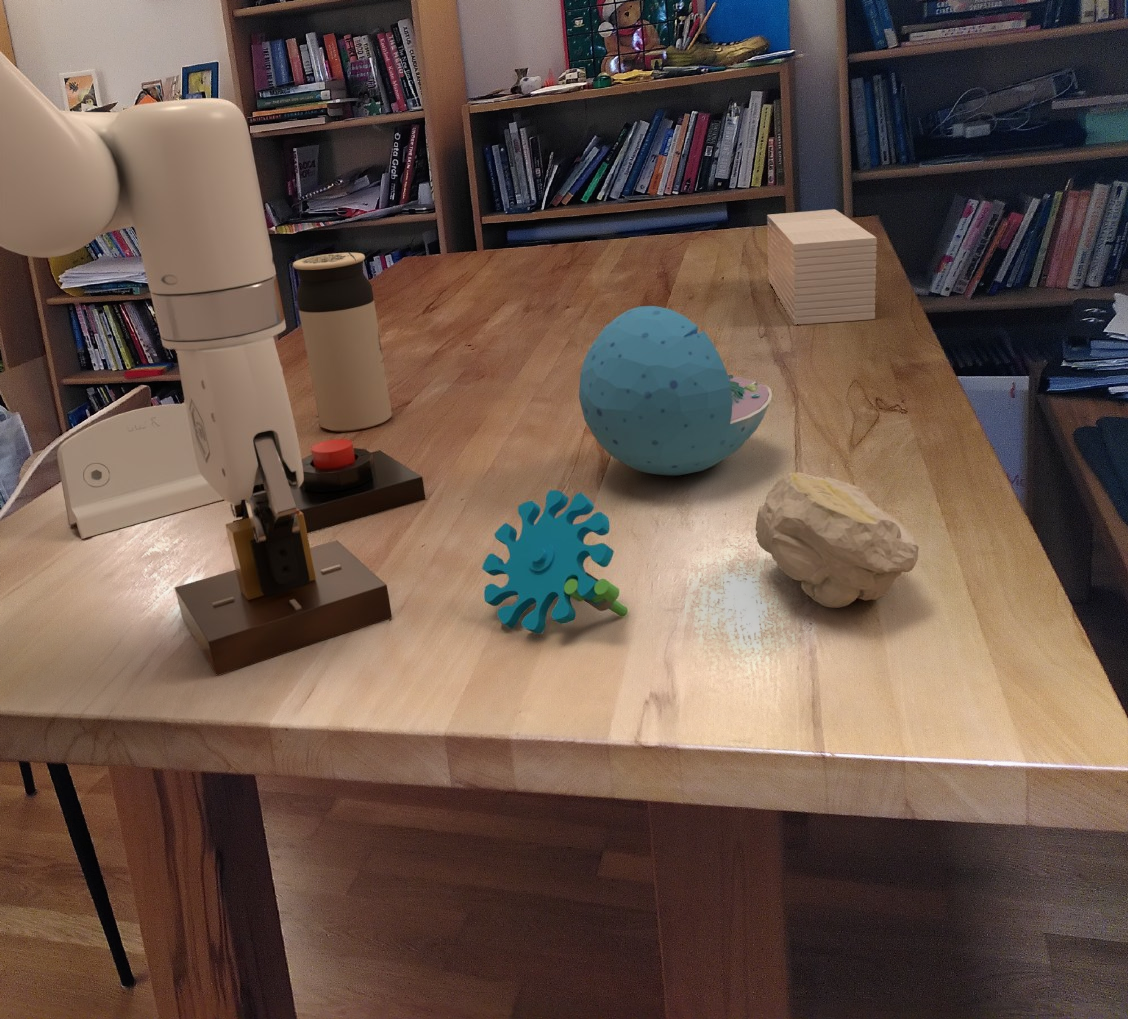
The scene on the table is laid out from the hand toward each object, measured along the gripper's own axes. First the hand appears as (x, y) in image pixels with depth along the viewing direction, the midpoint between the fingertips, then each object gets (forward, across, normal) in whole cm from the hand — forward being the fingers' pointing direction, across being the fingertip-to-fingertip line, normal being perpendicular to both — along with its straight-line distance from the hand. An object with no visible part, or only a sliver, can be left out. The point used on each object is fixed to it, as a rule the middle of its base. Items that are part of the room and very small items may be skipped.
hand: (276, 576), depth 72 cm
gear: (+3, +12, +15) cm, 20 cm away
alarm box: (+3, -19, +11) cm, 22 cm away
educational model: (+3, -5, +38) cm, 38 cm away
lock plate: (+3, 0, 0) cm, 3 cm away
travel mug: (+3, -42, +21) cm, 47 cm away
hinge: (+3, -31, -2) cm, 31 cm away
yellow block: (+1, 0, 0) cm, 1 cm away
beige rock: (+3, +21, +31) cm, 38 cm away
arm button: (0, -19, +11) cm, 22 cm away
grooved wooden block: (+3, -48, +96) cm, 107 cm away
